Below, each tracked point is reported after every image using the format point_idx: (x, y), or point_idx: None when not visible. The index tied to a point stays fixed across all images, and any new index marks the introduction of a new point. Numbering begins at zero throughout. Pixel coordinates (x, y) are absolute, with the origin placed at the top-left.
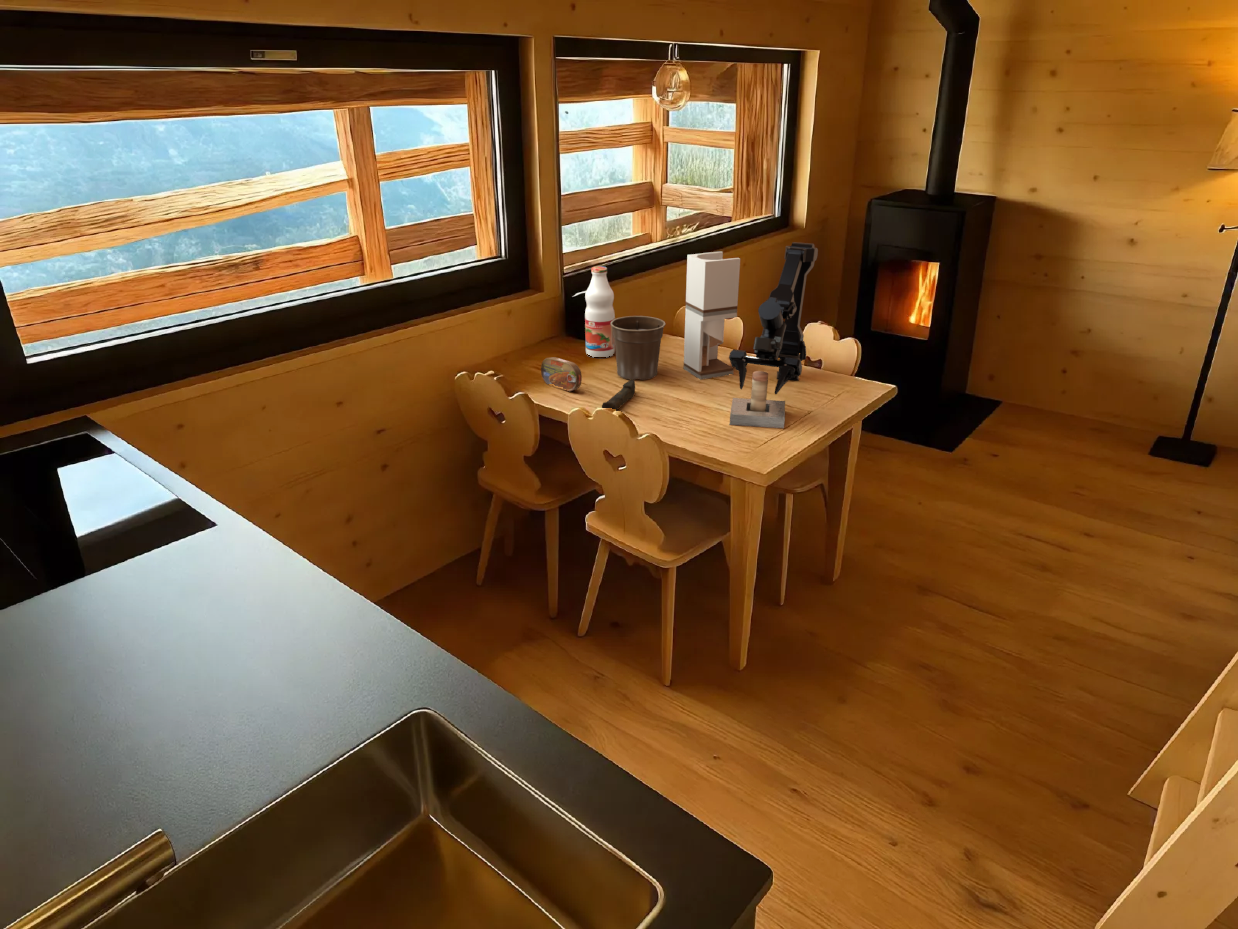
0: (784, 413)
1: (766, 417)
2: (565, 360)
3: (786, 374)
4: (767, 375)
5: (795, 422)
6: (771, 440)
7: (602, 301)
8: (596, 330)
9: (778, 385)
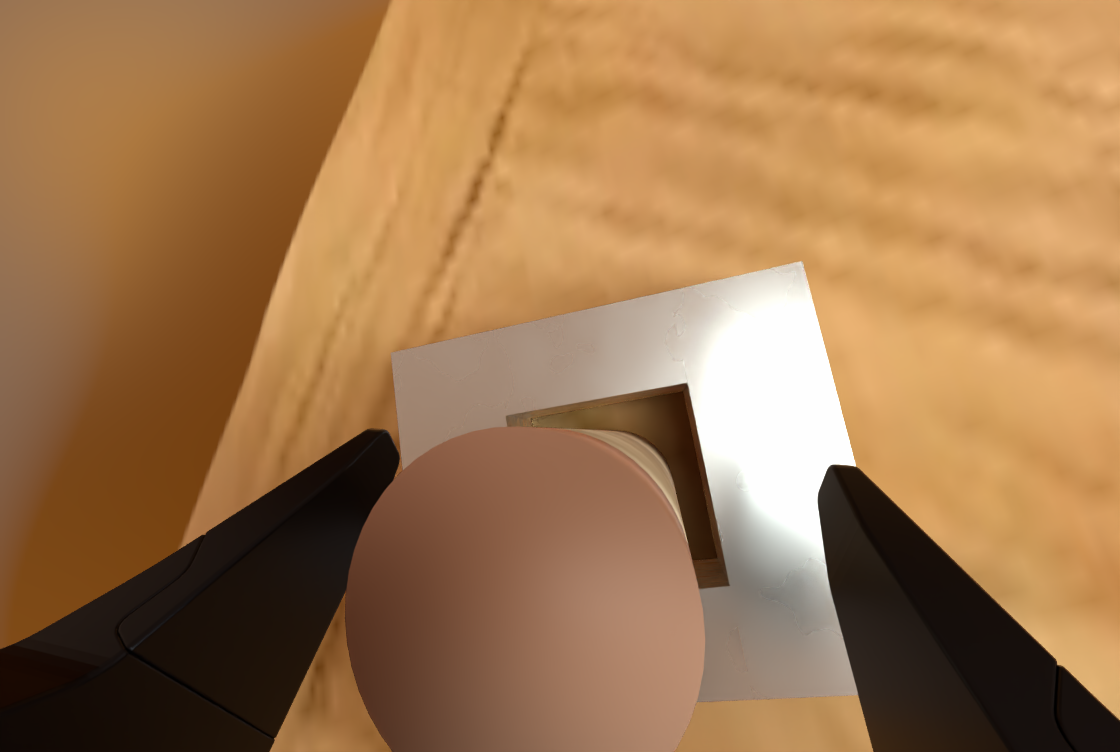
0: (400, 431)
1: (513, 328)
2: None
3: (24, 642)
4: (360, 547)
5: None
6: (472, 172)
7: None
8: None
9: (293, 486)
